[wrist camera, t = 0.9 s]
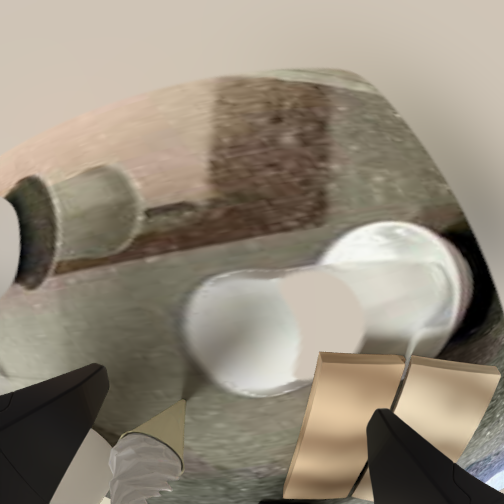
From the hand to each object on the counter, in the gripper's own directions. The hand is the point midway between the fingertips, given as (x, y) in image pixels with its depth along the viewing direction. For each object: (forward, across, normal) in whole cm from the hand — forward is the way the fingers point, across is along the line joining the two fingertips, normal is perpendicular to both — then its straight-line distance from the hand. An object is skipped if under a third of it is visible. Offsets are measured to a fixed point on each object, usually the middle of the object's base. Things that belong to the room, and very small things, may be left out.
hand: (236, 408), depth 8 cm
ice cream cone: (+12, +5, +13) cm, 19 cm away
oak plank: (+9, -18, +14) cm, 24 cm away
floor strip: (+11, -9, +14) cm, 20 cm away
